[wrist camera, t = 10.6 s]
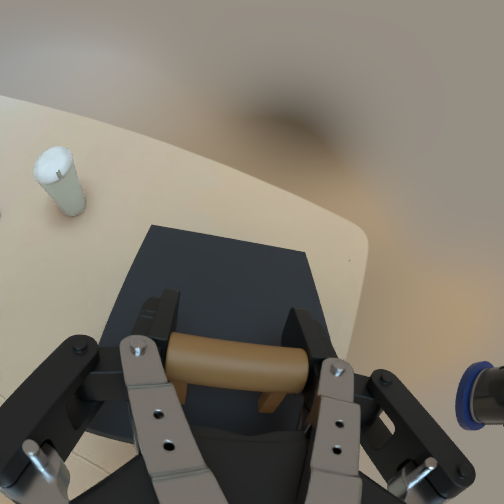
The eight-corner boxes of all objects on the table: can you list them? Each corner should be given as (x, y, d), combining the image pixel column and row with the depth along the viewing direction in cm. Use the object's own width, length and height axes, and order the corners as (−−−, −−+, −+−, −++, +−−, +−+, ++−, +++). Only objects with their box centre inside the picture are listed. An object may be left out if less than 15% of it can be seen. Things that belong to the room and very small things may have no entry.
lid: (349, 454, 11) (410, 409, 9) (76, 428, 9) (39, 372, 7) (302, 259, 25) (322, 207, 22) (150, 232, 23) (155, 175, 20)
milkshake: (70, 233, 29) (37, 186, 20) (52, 204, 30) (22, 154, 21) (100, 210, 31) (77, 156, 22) (81, 182, 32) (58, 128, 23)
